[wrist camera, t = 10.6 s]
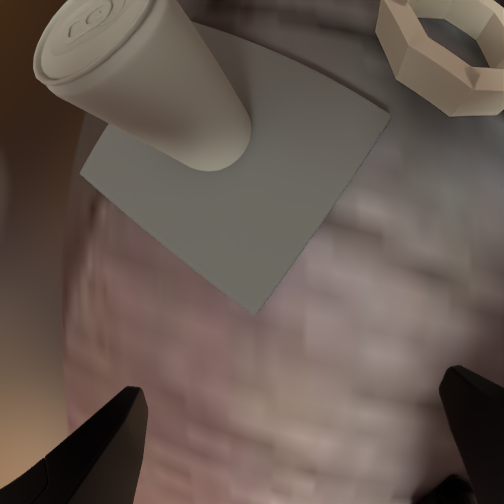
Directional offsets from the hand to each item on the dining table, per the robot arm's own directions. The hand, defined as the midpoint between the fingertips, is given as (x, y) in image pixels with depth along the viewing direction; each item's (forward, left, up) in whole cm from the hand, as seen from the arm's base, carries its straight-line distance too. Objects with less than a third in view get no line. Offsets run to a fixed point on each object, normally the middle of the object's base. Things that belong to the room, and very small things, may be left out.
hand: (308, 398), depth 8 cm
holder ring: (+2, -20, -10) cm, 23 cm away
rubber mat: (+11, -5, -10) cm, 16 cm away
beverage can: (+11, -5, -9) cm, 15 cm away
